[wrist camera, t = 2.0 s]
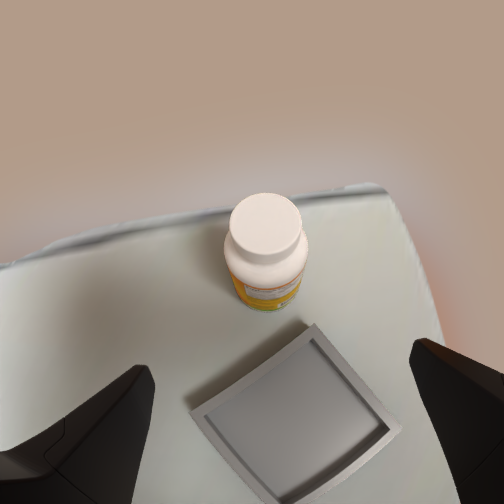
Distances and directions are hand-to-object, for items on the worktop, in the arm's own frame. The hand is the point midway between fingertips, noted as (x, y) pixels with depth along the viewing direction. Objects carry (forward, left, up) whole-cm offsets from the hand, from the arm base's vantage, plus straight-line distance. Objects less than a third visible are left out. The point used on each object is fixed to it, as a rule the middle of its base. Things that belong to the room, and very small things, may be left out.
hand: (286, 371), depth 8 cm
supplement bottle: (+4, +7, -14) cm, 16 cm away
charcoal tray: (-1, -4, -13) cm, 14 cm away
